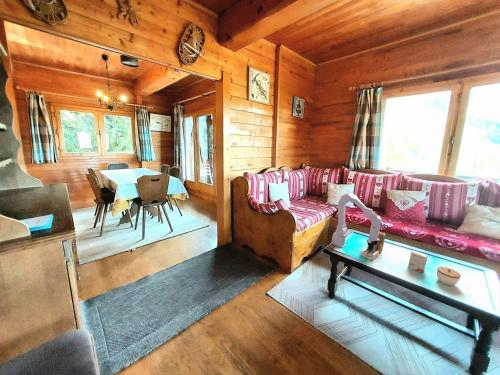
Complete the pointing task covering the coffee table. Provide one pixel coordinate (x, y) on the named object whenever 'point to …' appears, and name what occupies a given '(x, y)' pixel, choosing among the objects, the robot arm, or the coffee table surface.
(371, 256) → the end holder
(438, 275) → the lidded jar
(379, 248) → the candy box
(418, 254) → the ink box
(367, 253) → the connector plug
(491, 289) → the coffee table surface
